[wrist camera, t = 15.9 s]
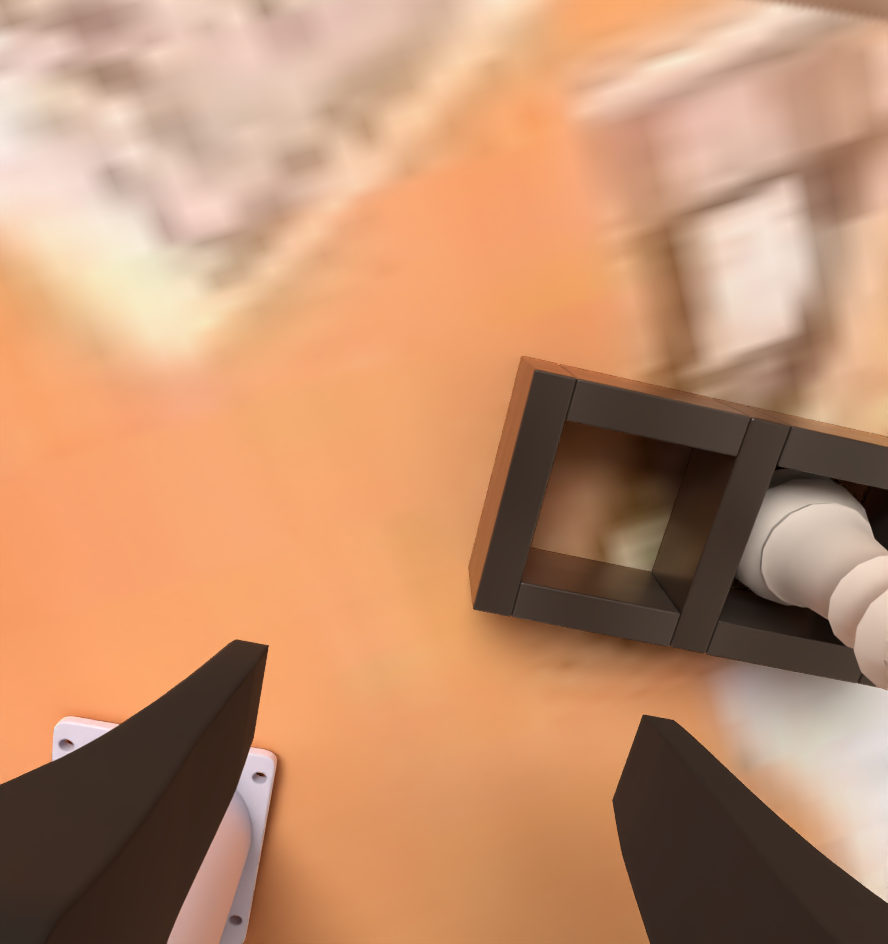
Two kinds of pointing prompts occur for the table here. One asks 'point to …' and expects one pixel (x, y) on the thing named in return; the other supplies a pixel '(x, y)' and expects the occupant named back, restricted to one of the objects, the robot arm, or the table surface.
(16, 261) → the table surface
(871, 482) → the rack
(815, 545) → the rook chess piece
